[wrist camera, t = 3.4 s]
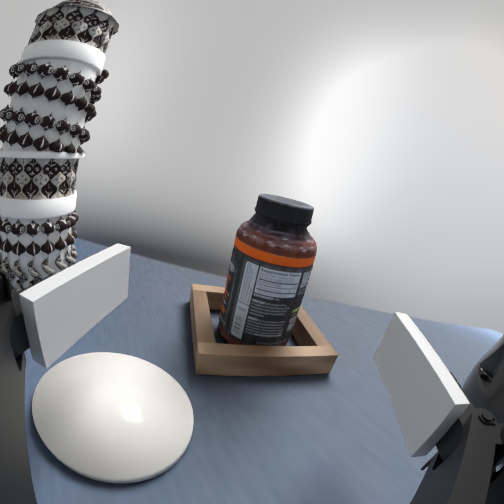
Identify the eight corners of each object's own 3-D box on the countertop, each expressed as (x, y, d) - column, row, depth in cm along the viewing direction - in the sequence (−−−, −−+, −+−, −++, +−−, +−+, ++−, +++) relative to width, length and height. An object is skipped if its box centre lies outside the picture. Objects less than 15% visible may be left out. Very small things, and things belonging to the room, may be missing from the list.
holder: (287, 309, 29) (292, 294, 28) (329, 373, 20) (338, 354, 19) (189, 300, 26) (192, 283, 25) (195, 374, 17) (199, 353, 16)
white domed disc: (187, 368, 17) (188, 361, 17) (202, 491, 9) (203, 486, 9) (59, 348, 15) (58, 341, 14) (17, 455, 6) (12, 449, 6)
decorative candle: (17, 262, 22) (53, 30, 15) (89, 272, 26) (133, 30, 19) (-21, 303, 14) (21, -5, 7) (67, 321, 18) (126, -15, 11)
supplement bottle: (223, 311, 26) (249, 188, 23) (286, 325, 26) (321, 205, 22) (209, 347, 20) (240, 192, 17) (287, 365, 20) (335, 216, 17)
